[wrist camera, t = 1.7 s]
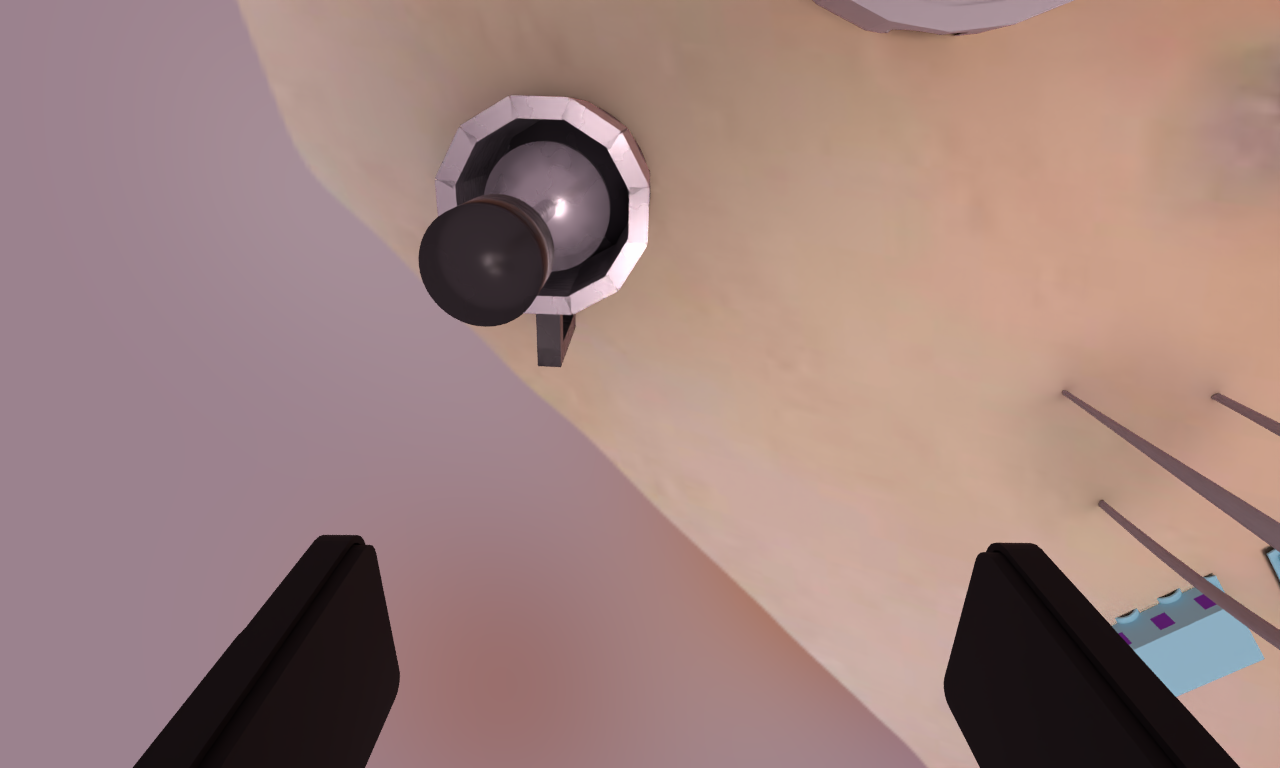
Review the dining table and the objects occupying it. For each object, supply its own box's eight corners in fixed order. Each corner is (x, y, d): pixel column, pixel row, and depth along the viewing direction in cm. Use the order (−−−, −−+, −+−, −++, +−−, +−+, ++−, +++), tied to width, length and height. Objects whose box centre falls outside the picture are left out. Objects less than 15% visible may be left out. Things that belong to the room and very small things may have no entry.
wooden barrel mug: (479, 96, 35) (425, 90, 27) (653, 102, 35) (653, 98, 27) (492, 315, 40) (451, 367, 32) (645, 321, 40) (643, 375, 32)
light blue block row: (955, 684, 53) (1007, 749, 56) (971, 715, 50) (1025, 781, 53) (1399, 473, 44) (1432, 563, 47) (1448, 496, 41) (1480, 591, 44)
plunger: (483, 138, 29) (363, 155, 17) (611, 143, 29) (582, 163, 17) (491, 265, 32) (391, 359, 19) (609, 270, 32) (582, 366, 19)
